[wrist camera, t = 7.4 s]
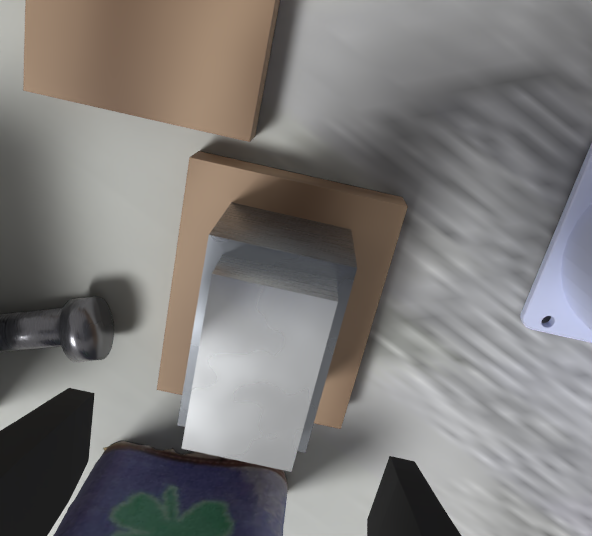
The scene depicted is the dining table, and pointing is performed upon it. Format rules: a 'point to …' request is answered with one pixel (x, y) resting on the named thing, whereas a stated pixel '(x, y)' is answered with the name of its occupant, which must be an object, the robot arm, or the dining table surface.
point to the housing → (264, 334)
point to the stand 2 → (299, 203)
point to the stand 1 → (155, 58)
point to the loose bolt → (62, 329)
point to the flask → (176, 496)
